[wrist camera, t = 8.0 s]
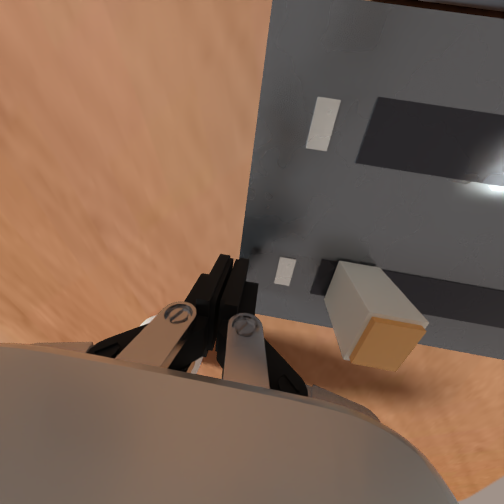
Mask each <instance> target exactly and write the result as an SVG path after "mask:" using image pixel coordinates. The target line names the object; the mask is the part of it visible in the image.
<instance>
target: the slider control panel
mask: <svg viewBox="0 0 504 504" xmlns="http://www.w3.org/2000/svg"><path fill="white" fill-rule="evenodd" d="M240 257H241V258H247V259H249V266H248V272H247V279H246V281H248V282H254V283H259V285H258V293H257V301H256V309H255V314H260V315H266V316H271V317H276V318H282V319H287V320H293V321H298V322H303V323H309V324H314V325H319V326H325V327H330V328H333V326H332V323H331V320H330V317H329V314H328V311H327V308H326V304H325V301H324V298H325V295H326V293H327V290H328V288H329V285H330V283H331V280H332V278H333V275H334V273H335V270H336V267H337V265H338V262H339V261H345V262H351V263H356V264H362V265H368V266H373V267H379V268H381V269H382V271H383V272H384V273H385V274H386V275H387V276H388V277H389V278H390V279H391V281H392V282H393V283H394V284H395V285H396V286H397V287H398V288H399V289H400V291H401V292H402V293H403V294H404V295H405V296H406V297H407V298H408V300H409V301H410V302H411V303H412V304H413V305H414V306H415V307H416V308H417V310H418V311H419V312H420V313H421V314H422V315H423V316H424V317H425V318H426V320H427V321H428V322H429V324H428V326H427V327H426V328H425V330H426V331H427V332H426V333H425V334H424V336H423V337H422V338H421V340H420V341H419V342H418V344H422V345H427V346H432V347H438V348H443V349H449V350H454V351H459V352H465V353H470V354H476V355H481V356H486V357H492V358H497V359H502V360H504V19H501V18H493V17H486V16H478V15H470V14H463V13H455V12H448V11H440V10H433V9H425V8H418V7H410V6H403V5H395V4H388V3H380V2H373V1H365V0H273V1H272V9H271V16H270V24H269V32H268V40H267V48H266V55H265V63H264V71H263V79H262V86H261V94H260V102H259V110H258V117H257V125H256V133H255V141H254V148H253V156H252V164H251V172H250V179H249V187H248V195H247V203H246V211H245V218H244V226H243V234H242V242H241V249H240ZM240 257H239V259H240Z"/></svg>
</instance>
